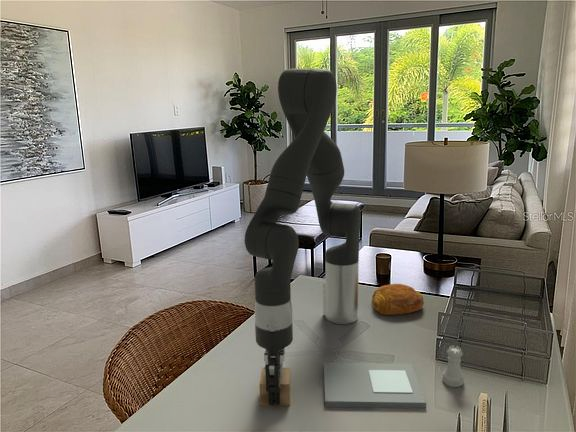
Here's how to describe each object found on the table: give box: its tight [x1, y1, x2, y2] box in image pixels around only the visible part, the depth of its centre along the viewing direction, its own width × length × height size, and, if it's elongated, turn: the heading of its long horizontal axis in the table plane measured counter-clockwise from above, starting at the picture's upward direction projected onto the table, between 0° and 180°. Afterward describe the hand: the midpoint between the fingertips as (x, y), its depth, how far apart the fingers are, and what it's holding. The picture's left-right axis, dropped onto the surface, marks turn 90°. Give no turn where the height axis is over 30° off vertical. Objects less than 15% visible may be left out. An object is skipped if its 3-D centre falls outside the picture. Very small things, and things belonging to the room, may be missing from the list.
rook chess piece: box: [442, 345, 465, 388], centre depth 97 cm, size 4×4×8 cm
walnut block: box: [259, 366, 292, 407], centre depth 94 cm, size 6×6×5 cm
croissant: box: [371, 283, 424, 316], centre depth 135 cm, size 14×16×8 cm
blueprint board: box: [323, 362, 427, 409], centre depth 97 cm, size 20×14×1 cm
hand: (275, 392), depth 94 cm, fingers open, 6 cm apart
